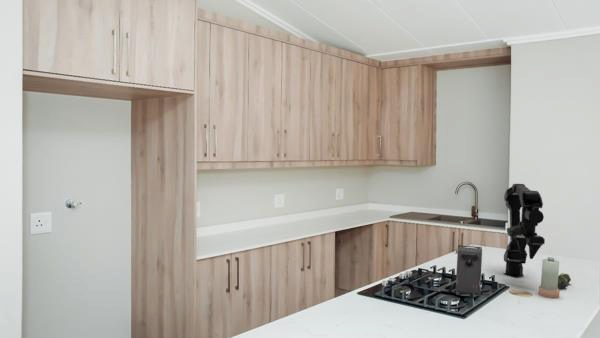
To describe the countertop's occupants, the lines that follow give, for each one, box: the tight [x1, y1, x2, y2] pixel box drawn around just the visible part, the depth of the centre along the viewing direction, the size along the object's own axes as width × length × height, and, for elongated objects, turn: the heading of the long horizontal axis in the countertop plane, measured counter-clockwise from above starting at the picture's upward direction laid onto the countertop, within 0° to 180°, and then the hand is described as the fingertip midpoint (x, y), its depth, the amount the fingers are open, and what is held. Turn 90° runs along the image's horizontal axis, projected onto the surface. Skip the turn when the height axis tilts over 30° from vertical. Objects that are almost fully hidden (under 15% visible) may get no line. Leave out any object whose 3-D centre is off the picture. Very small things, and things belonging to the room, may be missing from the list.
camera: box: [453, 244, 483, 297], centre depth 210 cm, size 11×17×20 cm, turn 161°
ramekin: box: [537, 285, 561, 299], centre depth 205 cm, size 8×8×3 cm
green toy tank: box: [558, 273, 572, 291], centre depth 221 cm, size 6×5×18 cm
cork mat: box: [508, 289, 534, 298], centre depth 207 cm, size 9×9×1 cm
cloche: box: [540, 257, 560, 291], centre depth 205 cm, size 6×6×12 cm
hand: (526, 256), depth 220 cm, fingers open, 9 cm apart
